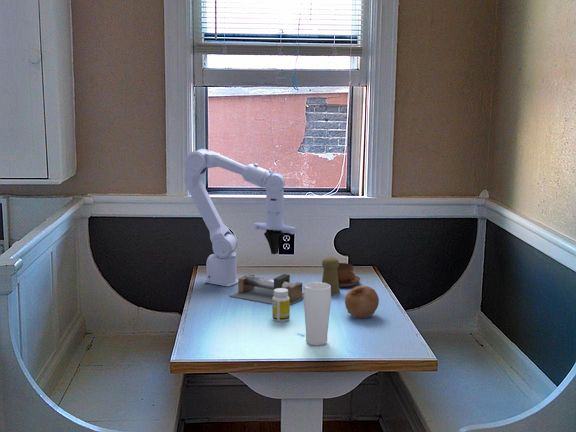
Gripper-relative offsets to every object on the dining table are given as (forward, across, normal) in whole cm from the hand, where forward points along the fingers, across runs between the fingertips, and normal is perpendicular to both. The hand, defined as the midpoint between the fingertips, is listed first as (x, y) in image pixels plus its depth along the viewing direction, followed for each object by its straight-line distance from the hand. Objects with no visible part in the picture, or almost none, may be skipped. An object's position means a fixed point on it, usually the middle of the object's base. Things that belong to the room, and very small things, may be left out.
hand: (274, 253), depth 233 cm
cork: (+11, +19, +2) cm, 22 cm away
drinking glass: (+11, +36, -39) cm, 54 cm away
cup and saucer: (+11, +18, +13) cm, 24 cm away
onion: (+11, +37, -14) cm, 41 cm away
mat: (+10, +5, -11) cm, 16 cm away
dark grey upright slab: (+10, +9, -11) cm, 18 cm away
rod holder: (+10, +5, -11) cm, 16 cm away
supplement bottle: (+11, +19, -28) cm, 35 cm away
